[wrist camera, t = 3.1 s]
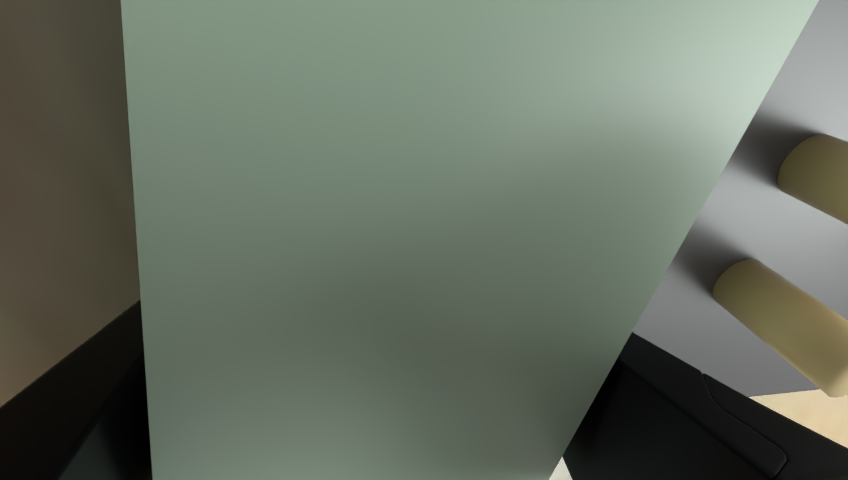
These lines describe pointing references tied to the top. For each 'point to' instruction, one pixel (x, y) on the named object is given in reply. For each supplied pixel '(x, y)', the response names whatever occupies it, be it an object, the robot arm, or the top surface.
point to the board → (415, 217)
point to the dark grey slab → (772, 238)
